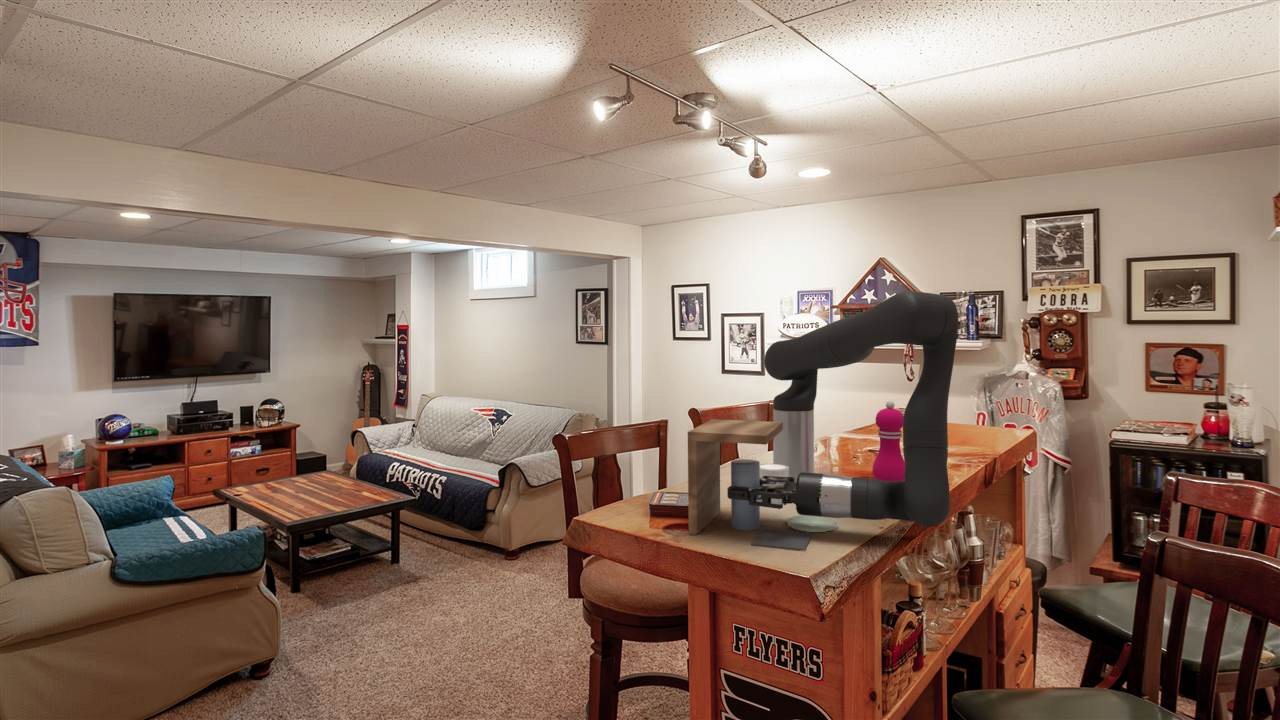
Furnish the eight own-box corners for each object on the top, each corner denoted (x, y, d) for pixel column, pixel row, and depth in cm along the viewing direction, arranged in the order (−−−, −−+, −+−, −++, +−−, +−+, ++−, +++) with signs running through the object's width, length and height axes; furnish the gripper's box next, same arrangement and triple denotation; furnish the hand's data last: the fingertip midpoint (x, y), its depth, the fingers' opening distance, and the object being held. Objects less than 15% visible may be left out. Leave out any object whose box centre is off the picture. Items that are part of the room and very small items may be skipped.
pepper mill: (884, 496, 143) (885, 403, 141) (865, 488, 150) (866, 400, 148) (914, 494, 144) (915, 402, 143) (894, 486, 151) (894, 398, 150)
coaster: (779, 520, 127) (779, 517, 127) (821, 516, 129) (821, 513, 129) (801, 534, 118) (801, 531, 118) (847, 530, 120) (847, 526, 120)
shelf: (783, 517, 129) (782, 422, 128) (766, 542, 114) (766, 435, 113) (713, 510, 134) (712, 419, 133) (688, 534, 119) (687, 431, 118)
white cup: (789, 503, 138) (789, 470, 138) (755, 502, 140) (755, 469, 139) (788, 495, 145) (788, 463, 145) (756, 494, 146) (756, 462, 146)
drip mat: (761, 529, 122) (761, 527, 122) (812, 534, 118) (812, 533, 118) (750, 545, 113) (750, 543, 113) (804, 551, 110) (804, 549, 110)
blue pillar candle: (727, 523, 126) (726, 460, 125) (752, 521, 127) (752, 458, 126) (737, 531, 121) (737, 466, 120) (764, 529, 122) (764, 464, 121)
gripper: (829, 466, 124) (741, 460, 131) (820, 483, 111) (722, 476, 117) (829, 505, 125) (741, 498, 131) (820, 528, 111) (722, 518, 118)
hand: (732, 487), depth 124 cm, fingers open, 6 cm apart
